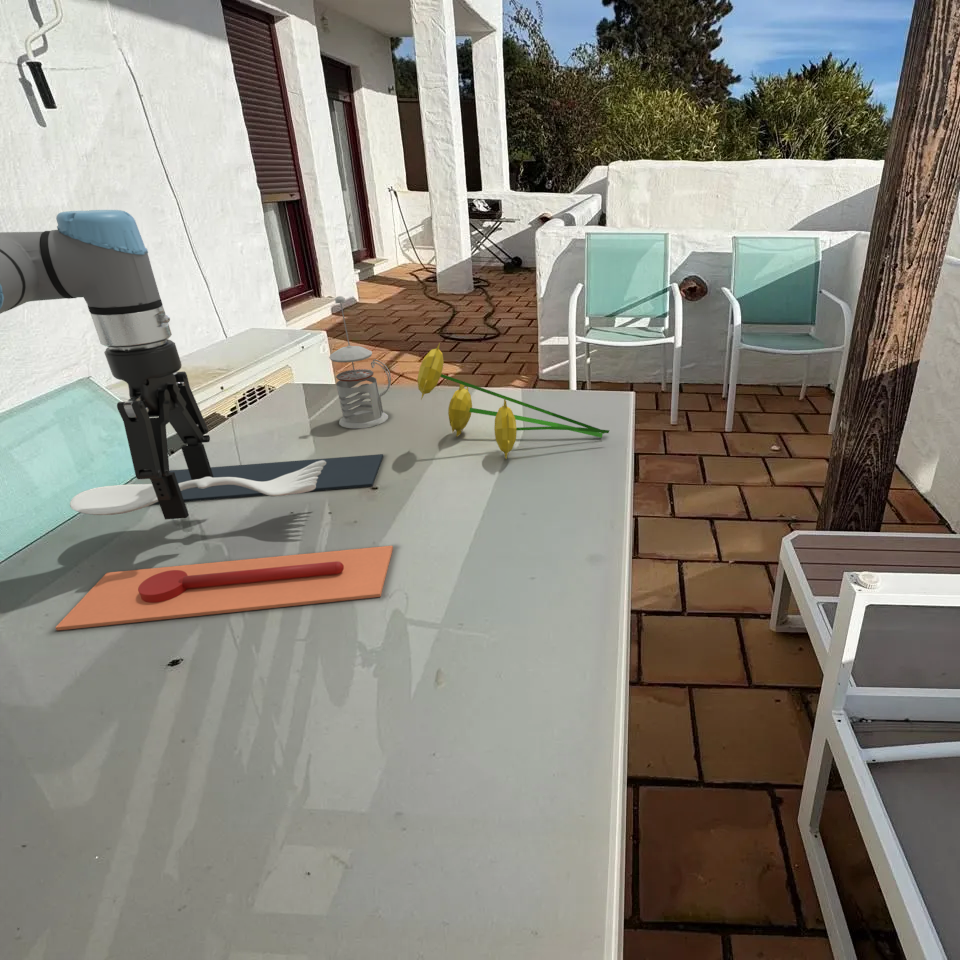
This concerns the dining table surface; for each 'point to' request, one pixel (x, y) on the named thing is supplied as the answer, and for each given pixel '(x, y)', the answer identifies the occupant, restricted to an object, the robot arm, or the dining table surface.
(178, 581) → the red spoon
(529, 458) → the dining table surface
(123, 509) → the white spork
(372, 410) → the french press
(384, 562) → the terracotta mat
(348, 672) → the dining table surface
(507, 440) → the flowers
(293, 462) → the slate mat
